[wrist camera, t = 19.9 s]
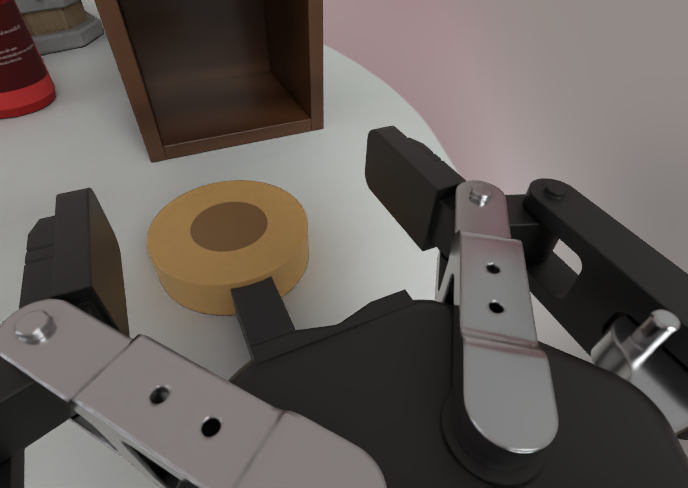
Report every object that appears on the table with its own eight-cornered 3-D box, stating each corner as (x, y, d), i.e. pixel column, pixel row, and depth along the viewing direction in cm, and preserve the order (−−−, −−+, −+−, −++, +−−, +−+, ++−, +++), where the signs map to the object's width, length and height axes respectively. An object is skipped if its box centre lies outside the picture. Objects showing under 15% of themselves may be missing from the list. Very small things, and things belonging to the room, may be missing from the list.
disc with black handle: (151, 230, 27) (138, 199, 25) (281, 198, 29) (279, 167, 28) (223, 612, 13) (206, 604, 12) (446, 485, 16) (461, 463, 14)
